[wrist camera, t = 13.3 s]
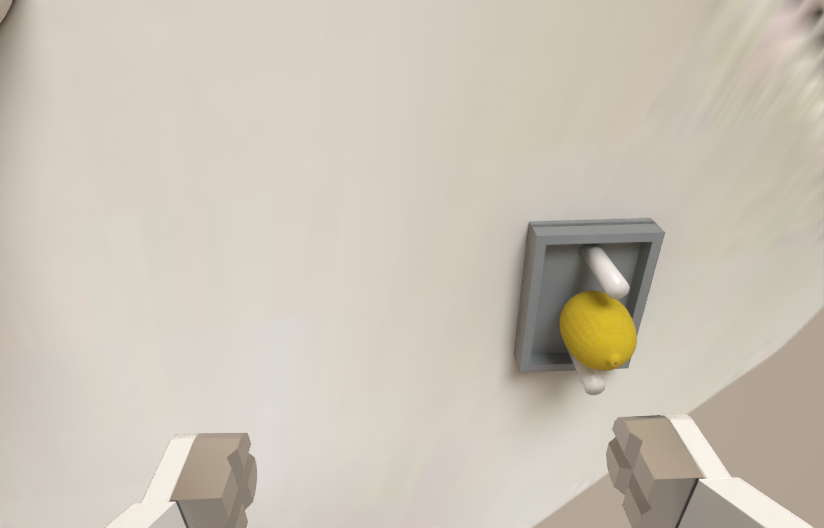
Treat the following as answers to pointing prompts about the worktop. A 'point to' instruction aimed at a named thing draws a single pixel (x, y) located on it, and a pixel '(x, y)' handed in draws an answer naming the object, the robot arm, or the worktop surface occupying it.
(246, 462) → the robot arm
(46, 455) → the worktop surface
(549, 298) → the tray
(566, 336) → the lemon
